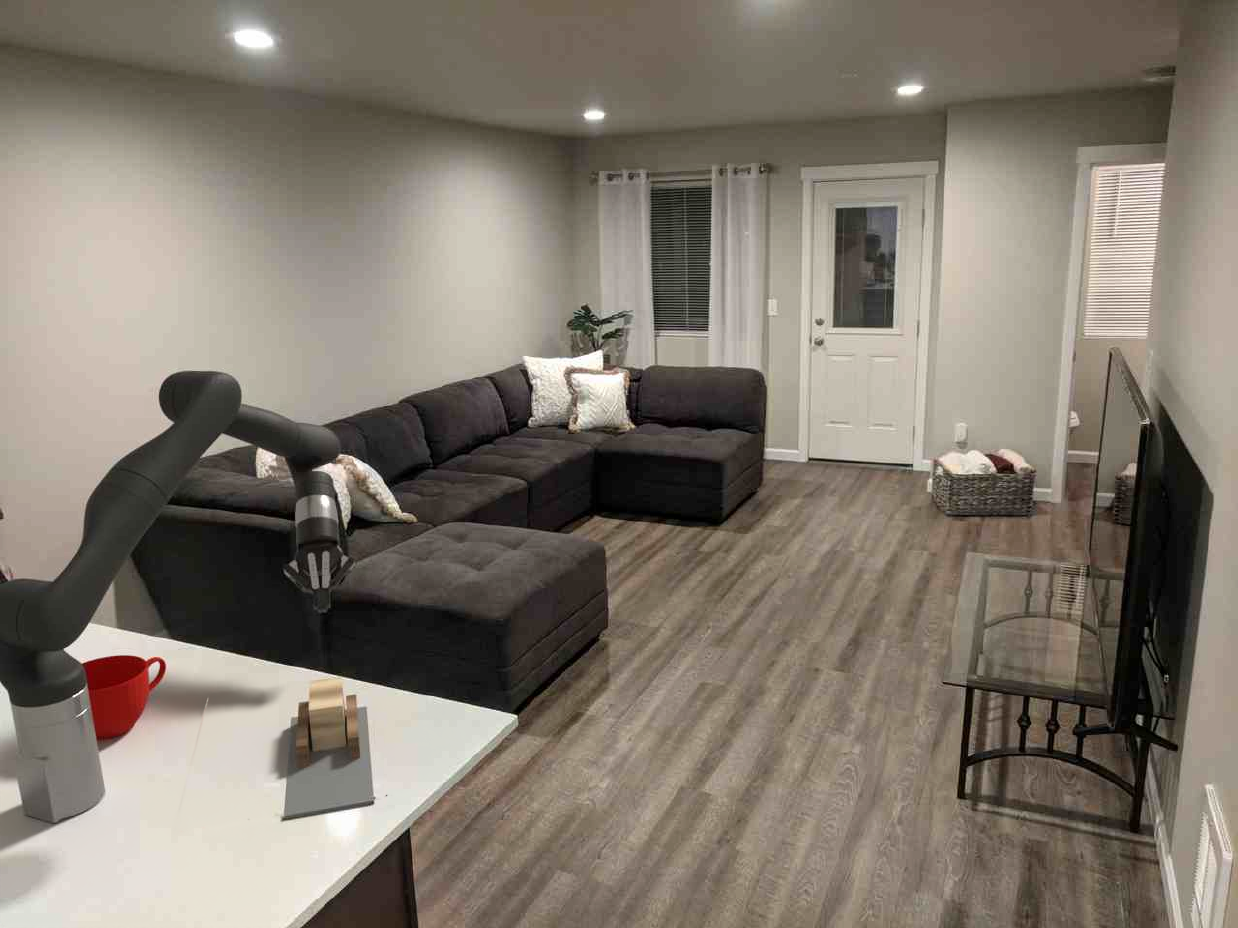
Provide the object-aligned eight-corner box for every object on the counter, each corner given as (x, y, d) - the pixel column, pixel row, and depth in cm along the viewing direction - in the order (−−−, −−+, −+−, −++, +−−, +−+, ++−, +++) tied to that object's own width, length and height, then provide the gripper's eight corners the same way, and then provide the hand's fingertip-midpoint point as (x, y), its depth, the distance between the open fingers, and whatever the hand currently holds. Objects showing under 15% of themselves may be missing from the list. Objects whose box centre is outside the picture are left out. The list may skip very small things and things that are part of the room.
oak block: (346, 746, 146) (342, 705, 144) (312, 751, 145) (308, 710, 143) (345, 715, 155) (341, 676, 154) (313, 719, 154) (309, 681, 152)
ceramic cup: (193, 710, 158) (186, 656, 156) (96, 758, 144) (86, 699, 142) (147, 692, 165) (139, 639, 162) (49, 736, 151) (39, 680, 148)
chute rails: (360, 757, 143) (358, 736, 142) (298, 767, 140) (296, 746, 139) (357, 713, 156) (356, 694, 155) (300, 721, 153) (298, 702, 152)
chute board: (374, 803, 132) (373, 800, 132) (284, 819, 129) (284, 816, 129) (366, 708, 158) (366, 706, 158) (291, 720, 155) (291, 717, 155)
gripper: (277, 518, 169) (280, 607, 161) (353, 511, 173) (360, 597, 165) (281, 537, 175) (285, 623, 167) (354, 530, 179) (361, 614, 171)
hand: (322, 610), depth 166 cm, fingers closed
